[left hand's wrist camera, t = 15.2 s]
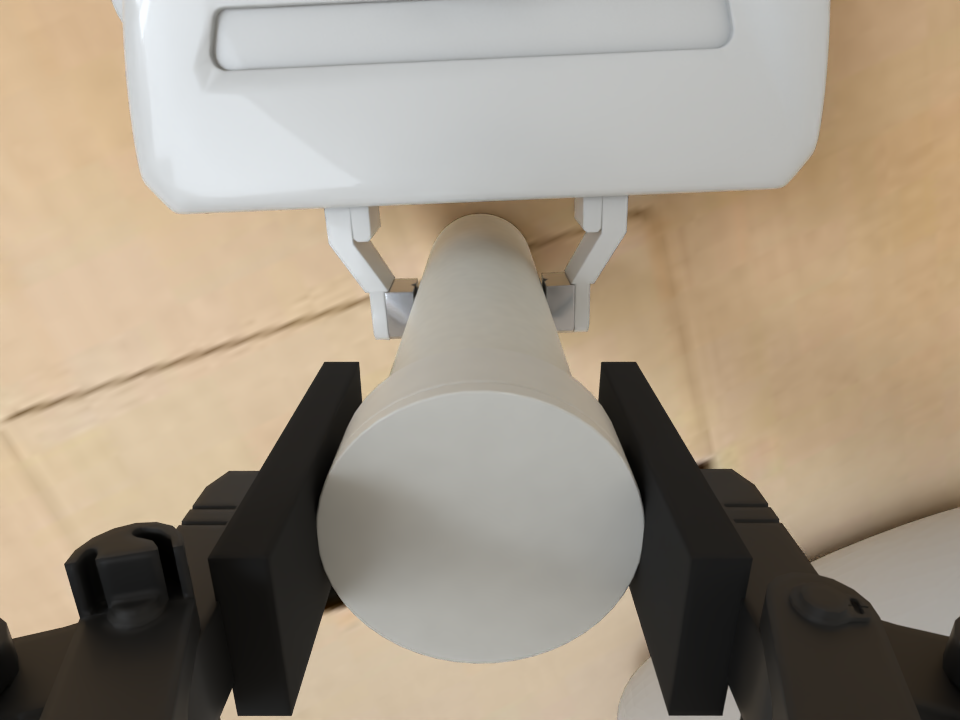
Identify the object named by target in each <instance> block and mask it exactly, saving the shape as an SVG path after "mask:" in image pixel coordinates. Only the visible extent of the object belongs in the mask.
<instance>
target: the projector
mask: <svg viewBox="0 0 960 720" xmlns="http://www.w3.org/2000/svg"><path fill="white" fill-rule="evenodd" d="M810 563H811V564H812V566H813V567H814V569H815V570H816V571H817V573H818V574H819V575H821V576H824V577H828V578H832V579H834V580H836V581H838V582H840V583H842V584H844V585H846V586H848V587H850V588H852V589H854V590H855V591H856V592H858V593H859V594H860V595H861V596H863V597H864V598H865V599H866V600H868V601H869V602H870V603H871V605H872V606H873V608H874V609H875V611H876V612H877V614H878V615H879V617H880V618H881V620H883V621H887V622H890V623H893V624H897V625H901V626H905V627H910V628H914V629H919V630H923V631H927V632H932V633H936V634H941V635H945V636H950V633H951V631H952V628H953V625H954V622H955V620H956V619H957V618H958V617H960V507H958V508H955V509H951V510H948V511H944V512H941V513H937V514H934V515H931V516H928V517H925V518H922V519H919V520H916V521H913V522H910V523H907V524H904V525H901V526H899V527H896V528H893V529H891V530H888V531H885V532H882V533H880V534H877V535H874V536H872V537H869V538H867V539H864V540H862V541H859V542H857V543H854V544H852V545H849V546H847V547H844V548H842V549H839V550H837V551H835V552H832V553H830V554H828V555H826V556H823V557H821V558H819V559H817V560H815V561H812V562H810ZM740 715H741V714H740V711H739V709H738V707H737V704H736V702H735V699H734V697H733V695H732V692H731V690H730V688H729V685H728V690H727V695H726V701H725V706H724V711H723V716H669V715H668V711H667V708H666V705H665V702H664V698H663V695H662V692H661V689H660V685H659V682H658V679H657V676H656V672H655V669H654V666H653V663H652V659H651V656H650V657H649V658H648V659H647V660H646V661H645V662H644V663H643V664H642V665H641V666H640V667H639V668H638V669H637V670H636V672H635V673H634V674H633V676H632V677H631V678H630V680H629V682H628V684H627V685H626V687H625V689H624V691H623V694H622V696H621V699H620V703H619V706H618V713H617V720H740Z"/></svg>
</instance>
